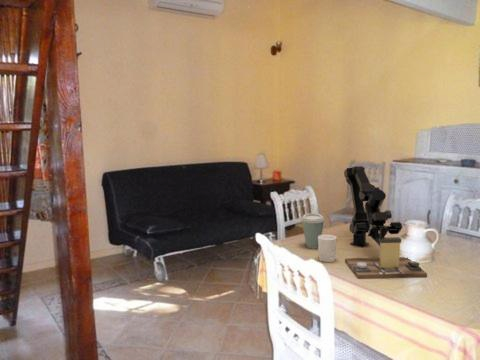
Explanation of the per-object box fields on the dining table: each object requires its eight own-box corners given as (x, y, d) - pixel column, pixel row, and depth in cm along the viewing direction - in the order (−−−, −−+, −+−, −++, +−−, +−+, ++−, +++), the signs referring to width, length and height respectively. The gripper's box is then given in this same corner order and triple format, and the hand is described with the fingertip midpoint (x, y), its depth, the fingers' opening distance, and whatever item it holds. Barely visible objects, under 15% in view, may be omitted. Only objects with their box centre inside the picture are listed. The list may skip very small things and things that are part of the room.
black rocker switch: (407, 263, 156) (407, 261, 156) (414, 263, 156) (414, 261, 156) (411, 265, 152) (411, 263, 152) (419, 265, 152) (419, 263, 152)
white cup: (325, 264, 165) (326, 240, 164) (314, 258, 172) (314, 236, 171) (340, 260, 169) (340, 237, 168) (328, 255, 176) (328, 233, 174)
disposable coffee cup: (326, 249, 183) (326, 218, 181) (302, 250, 184) (302, 218, 182) (322, 243, 194) (322, 212, 192) (299, 243, 194) (299, 213, 192)
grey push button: (355, 265, 156) (355, 261, 156) (364, 265, 156) (365, 261, 156) (358, 268, 152) (358, 265, 152) (367, 268, 152) (368, 265, 152)
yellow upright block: (377, 268, 155) (378, 237, 153) (396, 268, 155) (397, 236, 153) (380, 272, 151) (381, 240, 149) (400, 271, 151) (402, 239, 149)
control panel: (345, 261, 167) (345, 256, 167) (406, 260, 168) (407, 254, 167) (358, 279, 149) (358, 272, 149) (427, 277, 149) (427, 271, 149)
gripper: (355, 203, 163) (363, 238, 153) (401, 202, 163) (412, 237, 153) (350, 217, 172) (357, 251, 162) (393, 216, 172) (402, 250, 162)
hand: (382, 247), depth 160 cm, fingers closed
